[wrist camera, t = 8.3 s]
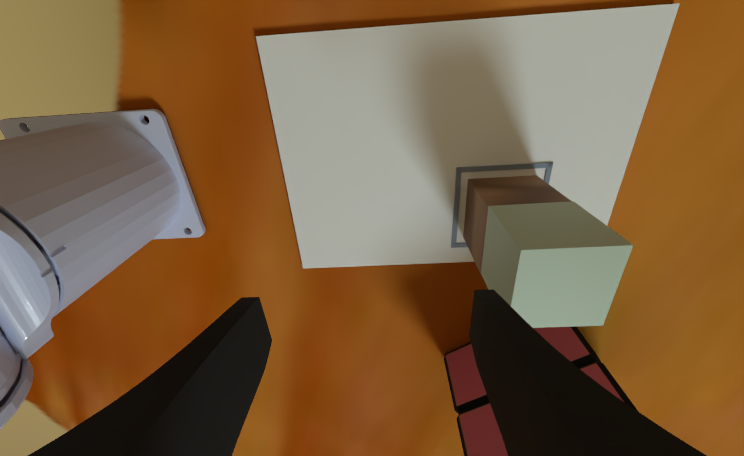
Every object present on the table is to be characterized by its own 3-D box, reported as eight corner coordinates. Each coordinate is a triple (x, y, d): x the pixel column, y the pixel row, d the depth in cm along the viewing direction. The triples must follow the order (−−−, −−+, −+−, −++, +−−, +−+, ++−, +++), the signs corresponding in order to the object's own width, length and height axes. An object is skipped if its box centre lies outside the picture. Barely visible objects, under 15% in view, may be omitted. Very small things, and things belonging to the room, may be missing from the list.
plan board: (303, 265, 22) (302, 269, 22) (257, 36, 16) (255, 36, 15) (594, 254, 21) (597, 257, 21) (674, 4, 15) (681, 3, 14)
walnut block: (463, 236, 21) (480, 273, 17) (467, 178, 19) (488, 206, 15) (525, 234, 20) (555, 270, 17) (536, 175, 19) (573, 202, 15)
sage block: (480, 273, 17) (506, 328, 14) (488, 205, 15) (521, 250, 12) (556, 269, 17) (602, 325, 13) (573, 201, 15) (633, 245, 11)
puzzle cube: (440, 353, 26) (471, 500, 18) (557, 300, 23) (663, 445, 15) (494, 412, 30) (542, 558, 21) (601, 373, 27) (707, 523, 18)
